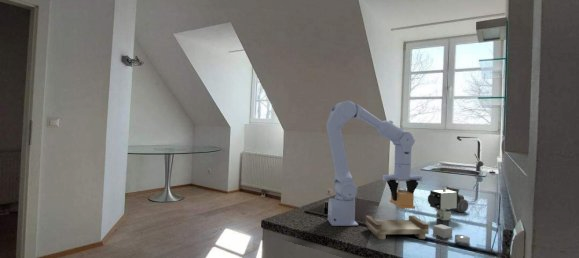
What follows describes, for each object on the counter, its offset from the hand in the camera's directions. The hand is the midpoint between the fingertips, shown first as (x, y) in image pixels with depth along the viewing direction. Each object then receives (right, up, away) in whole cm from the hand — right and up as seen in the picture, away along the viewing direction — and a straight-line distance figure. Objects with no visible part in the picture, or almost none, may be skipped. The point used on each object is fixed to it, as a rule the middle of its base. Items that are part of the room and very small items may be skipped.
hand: (401, 200), depth 116 cm
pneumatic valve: (+18, -9, +5) cm, 20 cm away
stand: (-7, -8, -14) cm, 17 cm away
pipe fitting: (+29, -9, +20) cm, 36 cm away
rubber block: (+8, -8, -14) cm, 18 cm away
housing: (0, -2, 0) cm, 2 cm away
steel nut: (+11, -8, -21) cm, 25 cm away
